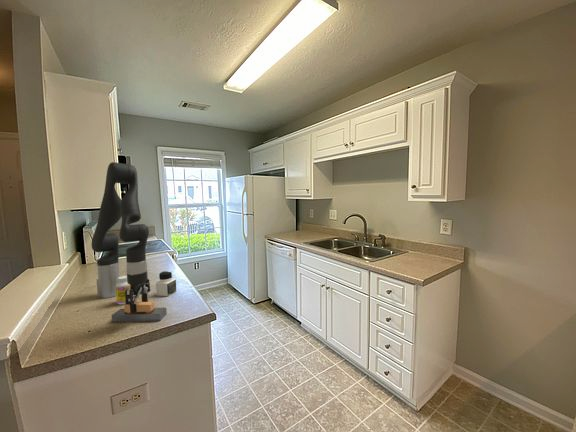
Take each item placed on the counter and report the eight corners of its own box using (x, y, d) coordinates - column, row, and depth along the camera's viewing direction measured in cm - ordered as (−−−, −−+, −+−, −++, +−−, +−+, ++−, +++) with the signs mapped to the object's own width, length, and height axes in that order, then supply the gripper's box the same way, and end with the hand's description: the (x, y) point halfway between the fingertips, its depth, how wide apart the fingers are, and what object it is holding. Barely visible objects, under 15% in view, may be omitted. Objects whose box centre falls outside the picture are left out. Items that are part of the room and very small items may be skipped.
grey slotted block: (112, 322, 104) (111, 315, 104) (121, 315, 110) (120, 308, 110) (160, 320, 105) (159, 314, 104) (166, 314, 111) (166, 307, 110)
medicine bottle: (168, 296, 130) (166, 274, 129) (156, 295, 132) (154, 273, 131) (176, 291, 137) (175, 270, 136) (165, 290, 139) (164, 269, 138)
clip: (125, 320, 106) (124, 305, 105) (129, 316, 109) (128, 302, 108) (151, 319, 106) (150, 304, 106) (154, 316, 109) (153, 301, 108)
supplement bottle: (116, 306, 120) (114, 280, 118) (118, 301, 125) (116, 276, 124) (132, 303, 123) (130, 277, 122) (133, 298, 128) (131, 274, 127)
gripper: (137, 266, 113) (140, 300, 114) (117, 276, 99) (119, 315, 100) (154, 266, 113) (156, 300, 114) (136, 276, 99) (138, 315, 100)
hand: (139, 307), depth 107 cm, fingers open, 8 cm apart
